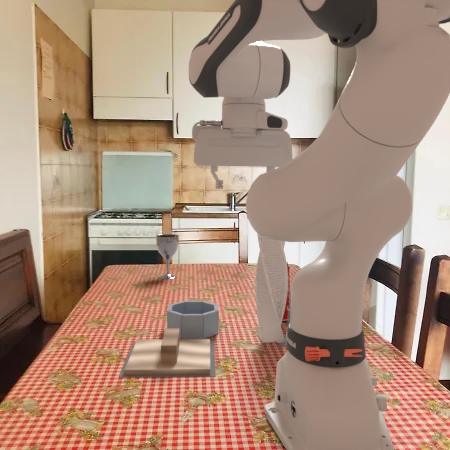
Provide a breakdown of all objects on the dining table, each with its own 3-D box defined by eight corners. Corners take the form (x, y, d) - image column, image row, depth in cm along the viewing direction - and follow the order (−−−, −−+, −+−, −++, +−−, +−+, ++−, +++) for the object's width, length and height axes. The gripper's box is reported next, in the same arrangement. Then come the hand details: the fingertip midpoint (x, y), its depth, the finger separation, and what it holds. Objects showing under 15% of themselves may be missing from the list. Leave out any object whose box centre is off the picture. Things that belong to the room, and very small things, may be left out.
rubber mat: (215, 378, 90) (215, 376, 90) (118, 379, 89) (118, 377, 89) (214, 344, 108) (214, 341, 108) (133, 344, 107) (133, 342, 107)
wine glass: (152, 278, 171) (152, 236, 169) (162, 273, 179) (161, 233, 177) (173, 280, 169) (173, 237, 167) (182, 275, 176) (182, 234, 175)
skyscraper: (259, 350, 105) (261, 222, 102) (248, 337, 113) (249, 218, 110) (295, 346, 108) (298, 221, 104) (281, 334, 115) (284, 217, 112)
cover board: (210, 374, 91) (210, 351, 90) (124, 374, 90) (124, 351, 90) (210, 343, 107) (210, 323, 106) (137, 343, 106) (136, 324, 106)
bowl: (218, 340, 110) (218, 315, 109) (165, 341, 109) (165, 315, 109) (217, 323, 122) (217, 300, 121) (170, 324, 121) (169, 300, 121)
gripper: (192, 118, 94) (191, 188, 96) (295, 120, 96) (293, 190, 97) (192, 121, 101) (191, 187, 102) (289, 123, 102) (287, 189, 104)
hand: (242, 189), depth 100 cm, fingers open, 8 cm apart
